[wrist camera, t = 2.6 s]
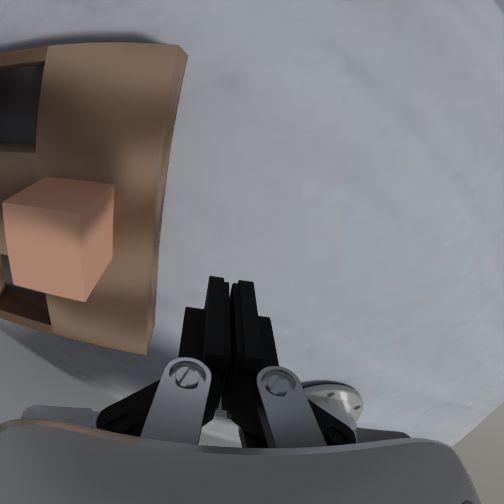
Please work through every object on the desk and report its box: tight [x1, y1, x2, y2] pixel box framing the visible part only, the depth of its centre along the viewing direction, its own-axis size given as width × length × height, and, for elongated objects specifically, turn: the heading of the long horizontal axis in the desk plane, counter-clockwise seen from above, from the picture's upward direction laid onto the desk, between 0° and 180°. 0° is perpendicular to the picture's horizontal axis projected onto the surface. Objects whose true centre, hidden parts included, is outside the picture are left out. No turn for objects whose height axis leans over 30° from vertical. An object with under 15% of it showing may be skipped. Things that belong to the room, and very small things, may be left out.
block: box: [2, 177, 115, 302], centre depth 16 cm, size 5×5×5 cm
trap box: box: [0, 42, 188, 355], centre depth 18 cm, size 22×25×6 cm
